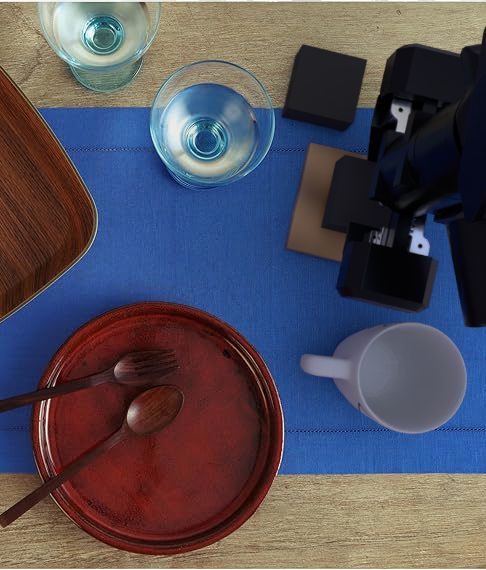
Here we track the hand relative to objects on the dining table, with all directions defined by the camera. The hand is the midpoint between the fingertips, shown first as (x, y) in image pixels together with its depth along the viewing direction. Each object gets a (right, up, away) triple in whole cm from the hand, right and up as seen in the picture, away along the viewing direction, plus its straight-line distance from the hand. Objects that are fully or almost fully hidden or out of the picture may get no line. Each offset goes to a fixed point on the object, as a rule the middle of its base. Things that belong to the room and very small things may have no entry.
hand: (364, 200), depth 53 cm
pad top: (-3, +11, +5) cm, 12 cm away
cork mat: (0, 0, +4) cm, 4 cm away
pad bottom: (0, 0, +1) cm, 1 cm away
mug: (0, -15, +4) cm, 15 cm away
